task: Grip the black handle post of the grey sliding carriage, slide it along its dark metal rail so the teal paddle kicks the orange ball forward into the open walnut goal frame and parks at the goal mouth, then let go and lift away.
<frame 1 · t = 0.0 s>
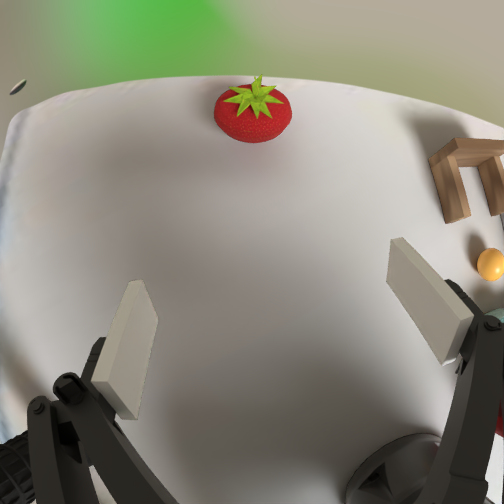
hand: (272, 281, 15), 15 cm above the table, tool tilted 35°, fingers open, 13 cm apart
strawberry: (253, 138, 33), on the table
handle grip: (68, 436, 29), on the table
goal: (465, 188, 31), on the table
ball: (481, 265, 30), on the table
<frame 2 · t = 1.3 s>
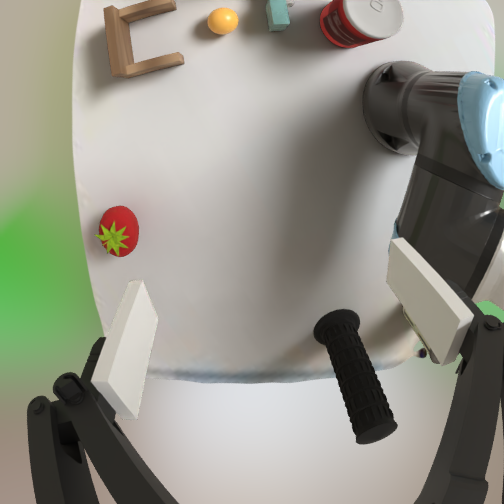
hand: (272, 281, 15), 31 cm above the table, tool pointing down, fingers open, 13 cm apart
strawberry: (129, 216, 45), on the table
handle grip: (336, 327, 60), on the table
goal: (151, 39, 32), on the table
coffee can: (421, 301, 59), on the table
canned food: (343, 25, 33), on the table
ball: (223, 24, 32), on the table
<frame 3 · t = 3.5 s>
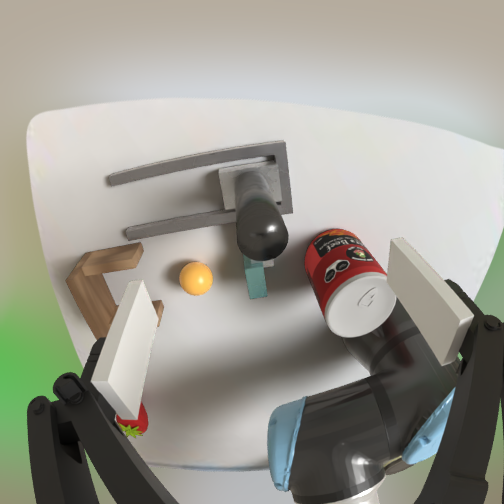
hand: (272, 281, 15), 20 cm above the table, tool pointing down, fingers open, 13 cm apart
strawberry: (137, 396, 51), on the table
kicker: (262, 253, 29), point 7 cm above the table, slide at 0.0 cm
goal: (125, 280, 38), on the table
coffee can: (386, 421, 64), on the table
rail: (195, 190, 33), on the table
canned food: (331, 254, 38), on the table
ball: (197, 269, 38), on the table
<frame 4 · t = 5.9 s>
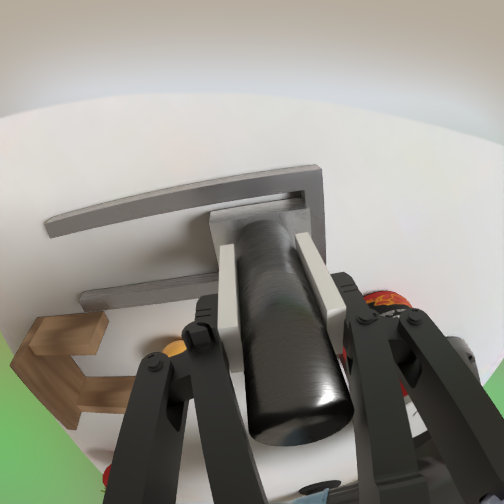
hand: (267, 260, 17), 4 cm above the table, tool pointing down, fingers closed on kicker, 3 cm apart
strawberry: (124, 454, 39), on the table
handle grip: (320, 486, 53), on the table
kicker: (282, 361, 17), point 7 cm above the table, slide at 0.0 cm, touching gripper
goal: (91, 352, 26), on the table
rail: (174, 243, 21), on the table
canned food: (370, 321, 26), on the table
ball: (184, 346, 26), on the table
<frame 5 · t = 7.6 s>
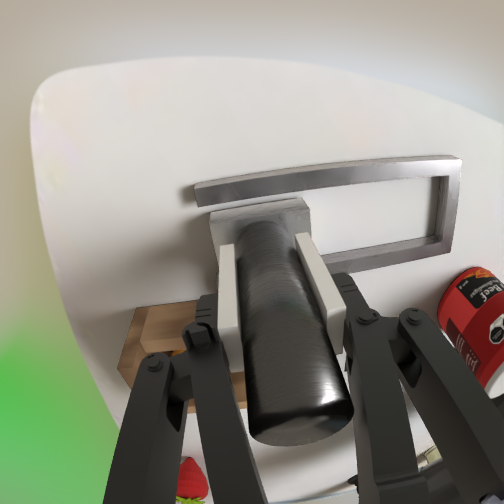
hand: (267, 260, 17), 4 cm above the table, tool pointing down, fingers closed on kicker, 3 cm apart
strawberry: (189, 457, 39), on the table
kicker: (283, 361, 17), point 7 cm above the table, slide at 11.4 cm, touching gripper
goal: (200, 345, 26), on the table
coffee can: (441, 444, 52), on the table
rail: (336, 218, 21), on the table
canned food: (462, 295, 26), on the table
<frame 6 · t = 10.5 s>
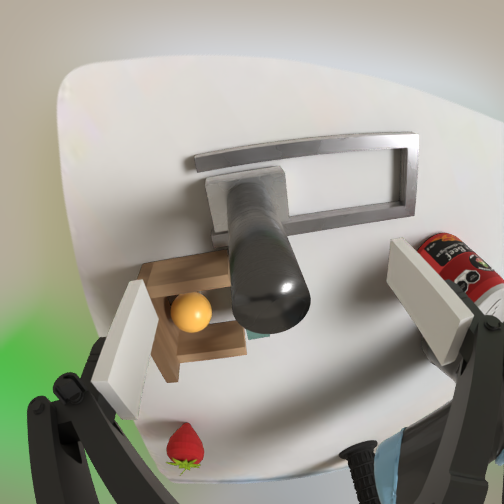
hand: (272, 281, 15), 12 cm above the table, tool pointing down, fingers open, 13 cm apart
strawberry: (186, 422, 44), on the table
handle grip: (358, 448, 60), on the table
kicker: (264, 294, 22), point 7 cm above the table, slide at 11.5 cm
goal: (197, 298, 30), on the table
rail: (310, 183, 25), on the table
canned food: (433, 259, 31), on the table
ball: (173, 309, 29), point 1 cm above the table, tilted 67°
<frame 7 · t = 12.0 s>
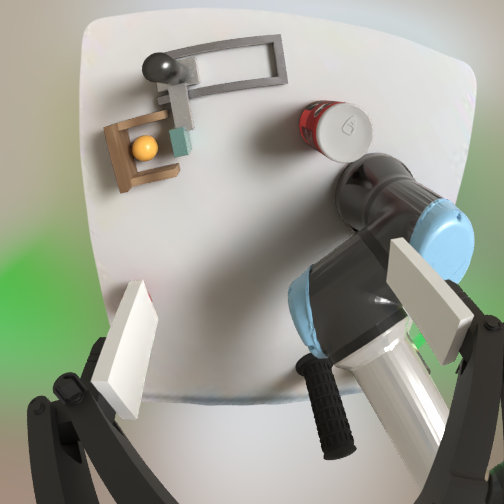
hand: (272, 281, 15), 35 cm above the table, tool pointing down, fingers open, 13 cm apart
handle grip: (315, 363, 71), on the table
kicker: (176, 107, 35), point 7 cm above the table, slide at 11.5 cm
goal: (149, 145, 44), on the table
rail: (214, 67, 39), on the table
canned food: (321, 124, 44), on the table
ball: (134, 150, 42), point 1 cm above the table, tilted 74°
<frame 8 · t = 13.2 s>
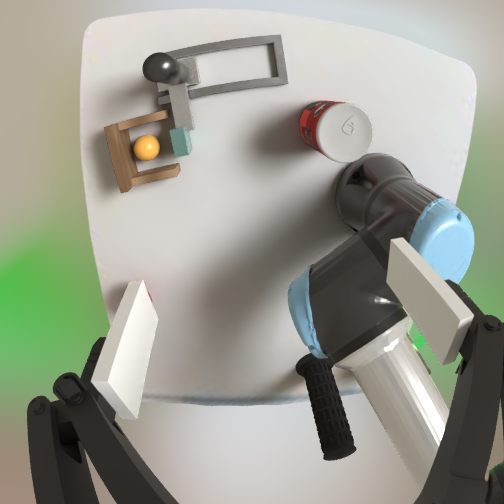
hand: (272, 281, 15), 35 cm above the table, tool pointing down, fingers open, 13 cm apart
handle grip: (315, 364, 71), on the table
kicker: (176, 107, 35), point 7 cm above the table, slide at 11.5 cm
goal: (150, 145, 44), on the table
rail: (215, 68, 39), on the table
canned food: (321, 124, 44), on the table
ball: (135, 150, 42), point 2 cm above the table, tilted 80°
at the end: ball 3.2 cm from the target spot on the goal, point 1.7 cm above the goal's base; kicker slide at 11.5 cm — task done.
